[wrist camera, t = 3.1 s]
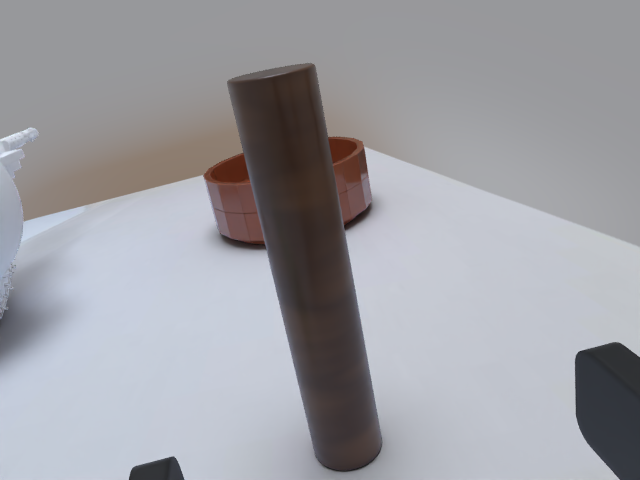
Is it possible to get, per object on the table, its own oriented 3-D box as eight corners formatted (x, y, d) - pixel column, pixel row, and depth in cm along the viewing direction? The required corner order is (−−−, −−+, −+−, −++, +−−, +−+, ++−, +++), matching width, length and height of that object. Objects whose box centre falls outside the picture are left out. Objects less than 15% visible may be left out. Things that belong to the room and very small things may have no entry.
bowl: (367, 182, 61) (358, 128, 58) (379, 232, 47) (369, 163, 44) (233, 205, 62) (219, 153, 60) (205, 260, 48) (187, 195, 46)
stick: (379, 417, 25) (315, 60, 20) (385, 466, 23) (314, 67, 17) (315, 426, 26) (234, 75, 20) (313, 475, 23) (219, 85, 17)
